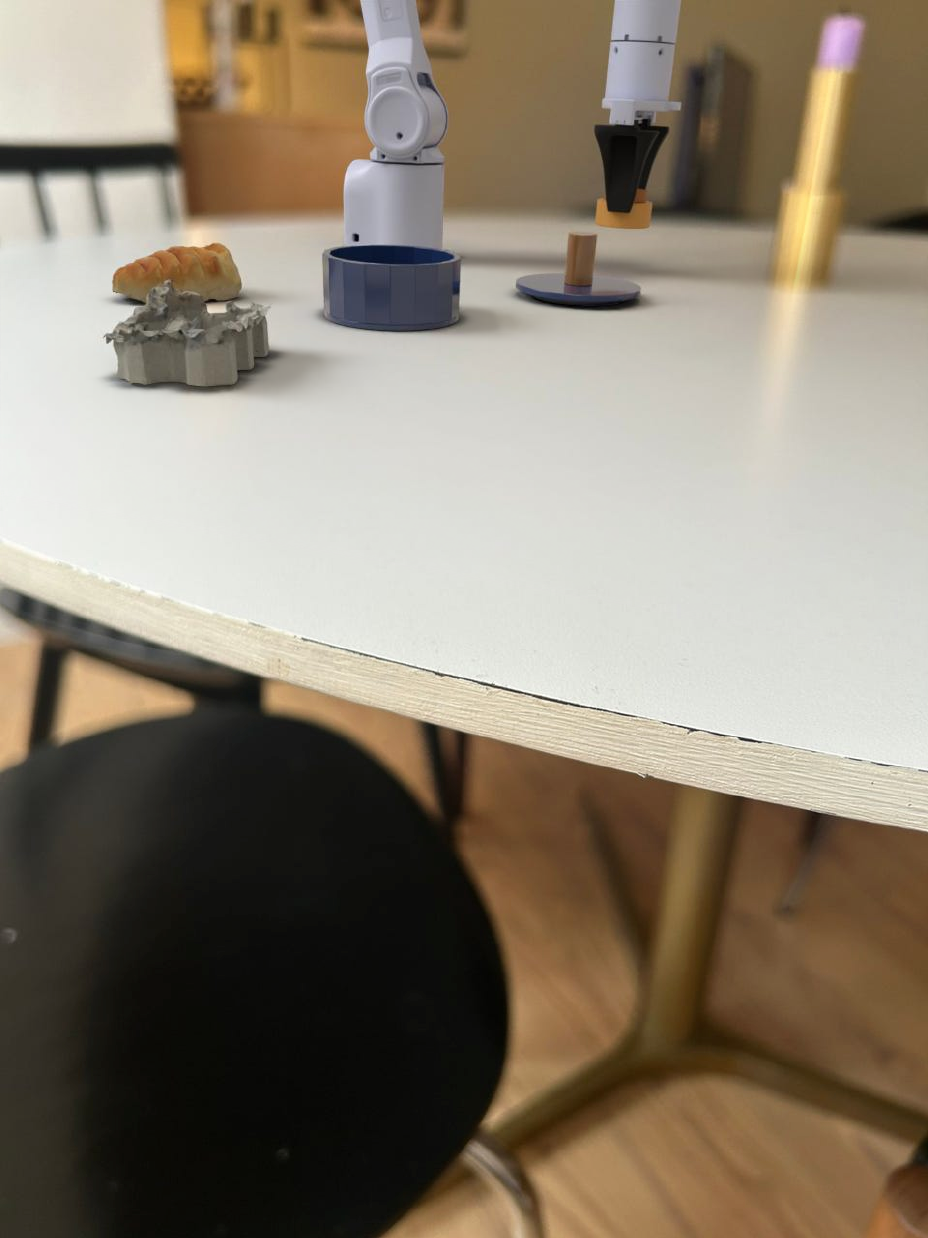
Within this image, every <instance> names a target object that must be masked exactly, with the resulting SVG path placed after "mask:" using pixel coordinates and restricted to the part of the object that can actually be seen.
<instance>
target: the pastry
mask: <svg viewBox="0 0 928 1238" xmlns="http://www.w3.org/2000/svg"><path fill="white" fill-rule="evenodd" d="M169 279H171V280H173V282H172V284H173V287H174V289H177V290H180V291H182V292H184V291H191V292H195V293H198V294H200V295H201V296H202V297H203V299H204V301H205V302H208V301H209V300H210V299H212V300H213V299H214V300H216V301H228V300H231V299H232V300H233V299H235V298H238V297H239V293H240V291H241V290H242V287H243V282H242V278H241V274H240V272H239V268H238V266H237V264H236V263H235V262H234V260H233V255H232V253H231V251H230V249H229V248H228V247H227V246H226V245H224V244H222V243H220V242H212V243H211V244H206V245H204V246H202V247H201V246H199V247H198V246H194V245H193V246H183V245H174V246H173V245H172V246H171V247H169V248H167V249H165V250H163V249H162V250H157V251H154V252H153V253H152V254H149V255H147V256H144V257H140V258H137V259H135V260H134V262H129V263H127V264H125V265H124V266H121V267H119V268H118V269H116V270H115V272H114V273H113V275H112V281H111V283H112V293H115V294H120V295H122V296H126V297H127V298H128V297H129V298H131V299H134V300H137V301H140V302H143V304H146V299H147V294H148V293H149V292H150V291H151V290H152V288H153V287H157V285H158V284H159V283H160V282H161V283H162V284H164V282H165V281H167V280H169Z"/></svg>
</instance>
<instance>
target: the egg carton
mask: <svg viewBox="0 0 928 1238" xmlns="http://www.w3.org/2000/svg"><path fill="white" fill-rule="evenodd" d="M172 282H173V280H171V279H169V280H167V281H165V282H164V284H162V283H161V282H160V283H159V284H158V285H157V287H153V288H152V290H151V291H150V292H149V293H148V294H147V299H146V303H144V304H143V306H136V307H135V308H134V310H133V313H132V315H130V316H129V317H128V318H126V320H124V321H119V322H118V323H117V325H116V326H115V327H114V329H113V331H112V332H111V333H109V332H108V333H105V334H104V335H103V337H102V339H104V338H105V342H106V343H105V344H106V345H109V344H110V343H111V342H112V341H113V342H112V344H113V345H112V346H113V349H114V352H115V355H116V359H117V378H118V379H122V380H125V381H127V382H128V383H129V384H142V385H143V386H147V385H152V384H157V383H166V382H168V383H169V382H172V383H173V382H174V383H183V384H187V385H189V386H194V387H215V386H231V385H234V384H236V383H237V382H238V380H239V379H238V375H239V374H238V371H250V370H252V369H253V368H254V367H255V358H265V357H267V356H268V354H269V351H270V344H269V331H268V321H267V317H266V315H267V314H268V312H269V309H271V306H272V304H270V305H262V304H258V303H254V302H251V301H250V307H239V306H237V305H236V304H235V302H234V301H232V300H229V301H228V300H227V301H226V303H225V310H226V311H225V312H209V311H208V306H207V304H206V301H204V299H203V297H202V296H201V295H200V294H198V293H195V292H191V291H184V292H182V291H180V290H177V289H174V287H173V284H172Z"/></svg>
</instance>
